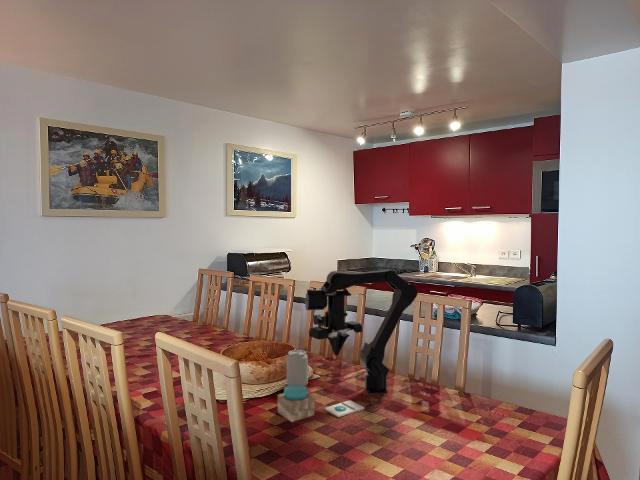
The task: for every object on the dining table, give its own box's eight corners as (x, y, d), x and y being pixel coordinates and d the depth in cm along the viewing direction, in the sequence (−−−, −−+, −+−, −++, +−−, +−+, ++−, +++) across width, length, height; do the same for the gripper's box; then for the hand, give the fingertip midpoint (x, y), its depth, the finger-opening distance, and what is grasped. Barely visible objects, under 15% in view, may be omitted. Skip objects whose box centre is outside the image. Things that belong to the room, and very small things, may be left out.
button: (299, 398, 143) (299, 383, 142) (311, 405, 137) (311, 389, 137) (279, 403, 139) (279, 388, 138) (292, 411, 133) (291, 395, 133)
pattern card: (349, 401, 147) (349, 399, 147) (364, 409, 141) (364, 406, 141) (324, 409, 141) (324, 407, 141) (338, 417, 135) (338, 415, 135)
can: (282, 387, 160) (282, 353, 160) (293, 380, 167) (293, 347, 166) (301, 390, 157) (300, 356, 156) (311, 383, 163) (311, 350, 163)
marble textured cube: (299, 406, 143) (299, 389, 143) (314, 415, 137) (314, 397, 137) (277, 412, 139) (277, 394, 139) (291, 422, 132) (291, 403, 132)
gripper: (342, 302, 164) (342, 345, 165) (299, 308, 153) (299, 354, 154) (363, 307, 155) (363, 352, 156) (319, 314, 144) (319, 362, 145)
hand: (336, 355), depth 153 cm, fingers closed
